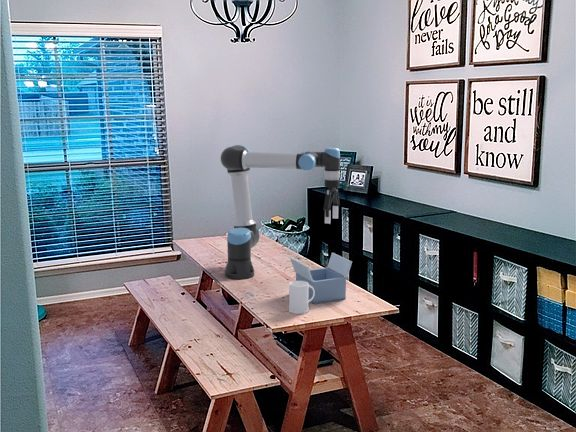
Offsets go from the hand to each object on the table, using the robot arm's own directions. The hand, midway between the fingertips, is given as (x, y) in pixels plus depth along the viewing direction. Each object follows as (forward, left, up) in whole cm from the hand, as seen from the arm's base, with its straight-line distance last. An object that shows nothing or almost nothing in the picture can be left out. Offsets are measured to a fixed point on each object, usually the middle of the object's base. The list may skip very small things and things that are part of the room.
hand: (331, 220), depth 305 cm
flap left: (-31, -30, -14) cm, 46 cm away
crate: (-22, -30, -28) cm, 46 cm away
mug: (-38, -44, -28) cm, 64 cm away
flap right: (-13, -30, -14) cm, 35 cm away
